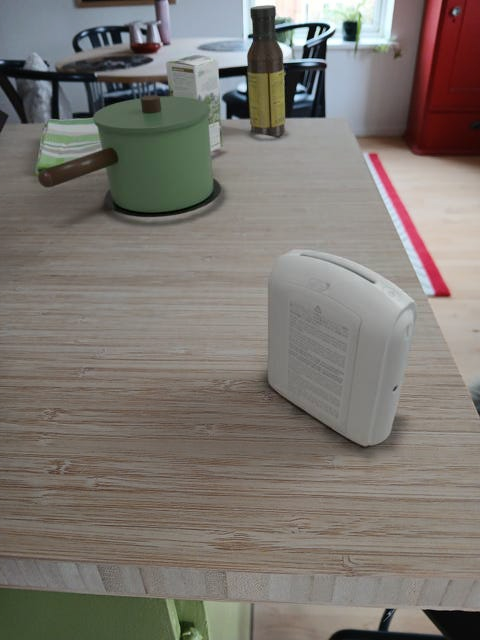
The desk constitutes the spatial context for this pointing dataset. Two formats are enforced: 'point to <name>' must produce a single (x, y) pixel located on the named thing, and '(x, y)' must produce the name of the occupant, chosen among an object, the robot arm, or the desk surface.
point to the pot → (148, 154)
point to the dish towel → (67, 142)
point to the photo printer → (338, 342)
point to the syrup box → (198, 88)
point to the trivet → (119, 209)
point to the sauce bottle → (265, 75)
